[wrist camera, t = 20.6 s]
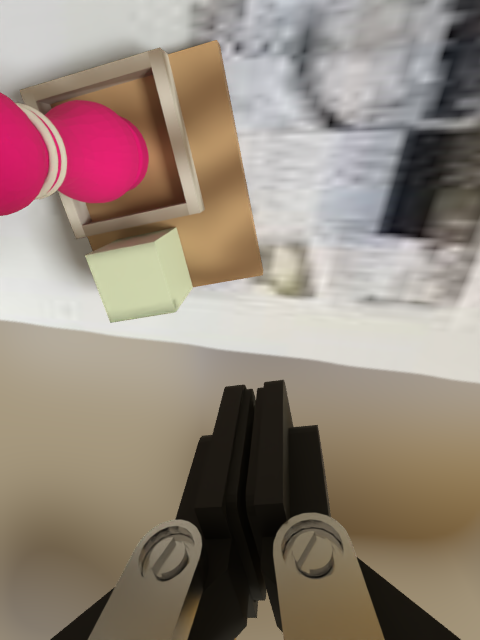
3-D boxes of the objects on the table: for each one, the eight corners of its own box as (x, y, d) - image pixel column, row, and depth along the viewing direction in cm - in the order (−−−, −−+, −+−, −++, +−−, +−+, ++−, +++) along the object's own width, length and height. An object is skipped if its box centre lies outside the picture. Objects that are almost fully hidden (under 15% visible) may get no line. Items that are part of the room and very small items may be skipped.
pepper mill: (60, 128, 32) (-238, 90, 14) (131, 92, 30) (-102, -7, 12) (100, 209, 34) (-106, 268, 16) (168, 180, 33) (23, 209, 14)
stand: (45, 96, 32) (10, 87, 28) (219, 45, 29) (209, 27, 25) (117, 296, 39) (98, 312, 35) (263, 270, 37) (260, 285, 32)
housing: (117, 239, 35) (85, 255, 29) (176, 227, 34) (154, 241, 28) (137, 297, 37) (110, 322, 32) (192, 287, 36) (175, 312, 31)
